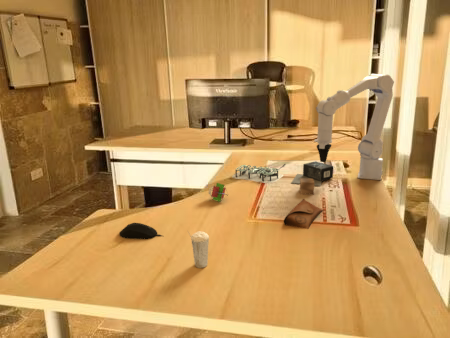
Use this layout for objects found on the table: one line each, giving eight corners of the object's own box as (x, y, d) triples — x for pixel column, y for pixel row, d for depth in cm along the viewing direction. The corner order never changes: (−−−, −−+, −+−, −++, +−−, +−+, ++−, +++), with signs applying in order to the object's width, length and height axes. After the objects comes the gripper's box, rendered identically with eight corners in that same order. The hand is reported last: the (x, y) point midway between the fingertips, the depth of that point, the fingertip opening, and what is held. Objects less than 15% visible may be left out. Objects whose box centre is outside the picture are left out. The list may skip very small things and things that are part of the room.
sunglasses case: (309, 229, 118) (299, 210, 118) (290, 236, 122) (280, 218, 122) (324, 209, 133) (315, 192, 133) (306, 215, 137) (298, 199, 137)
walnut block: (312, 190, 152) (312, 178, 151) (313, 194, 148) (314, 182, 146) (299, 190, 153) (300, 178, 152) (300, 194, 148) (301, 182, 147)
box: (321, 168, 159) (302, 163, 168) (320, 181, 161) (302, 176, 169) (333, 165, 163) (315, 160, 172) (333, 178, 165) (314, 172, 173)
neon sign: (296, 159, 184) (272, 175, 159) (295, 167, 185) (272, 185, 161) (256, 154, 194) (228, 169, 169) (256, 162, 195) (229, 178, 171)
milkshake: (189, 261, 101) (187, 227, 98) (209, 259, 102) (208, 226, 99) (189, 270, 97) (187, 235, 94) (210, 269, 97) (209, 233, 95)
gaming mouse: (162, 242, 113) (161, 229, 112) (116, 238, 116) (114, 227, 114) (169, 232, 119) (168, 221, 118) (125, 230, 122) (123, 218, 120)
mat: (324, 177, 168) (324, 176, 168) (319, 186, 156) (319, 185, 156) (297, 174, 172) (297, 173, 172) (291, 183, 161) (291, 182, 161)
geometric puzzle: (222, 189, 149) (212, 176, 144) (234, 193, 145) (225, 180, 140) (212, 203, 147) (202, 191, 142) (224, 207, 142) (214, 195, 137)
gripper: (317, 126, 164) (316, 156, 168) (312, 132, 151) (310, 165, 155) (334, 127, 161) (332, 157, 165) (330, 133, 148) (328, 166, 152)
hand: (323, 161), depth 160 cm, fingers closed
